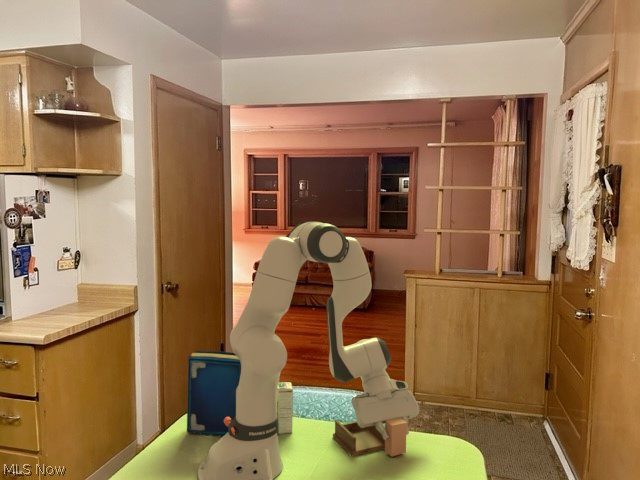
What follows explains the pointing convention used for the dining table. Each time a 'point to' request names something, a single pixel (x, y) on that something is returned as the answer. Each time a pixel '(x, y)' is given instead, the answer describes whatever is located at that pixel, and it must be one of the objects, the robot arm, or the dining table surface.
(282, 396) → the syrup box
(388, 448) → the terracotta block
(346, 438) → the walnut slot rack
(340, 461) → the dining table surface
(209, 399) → the book
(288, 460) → the dining table surface
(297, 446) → the dining table surface
